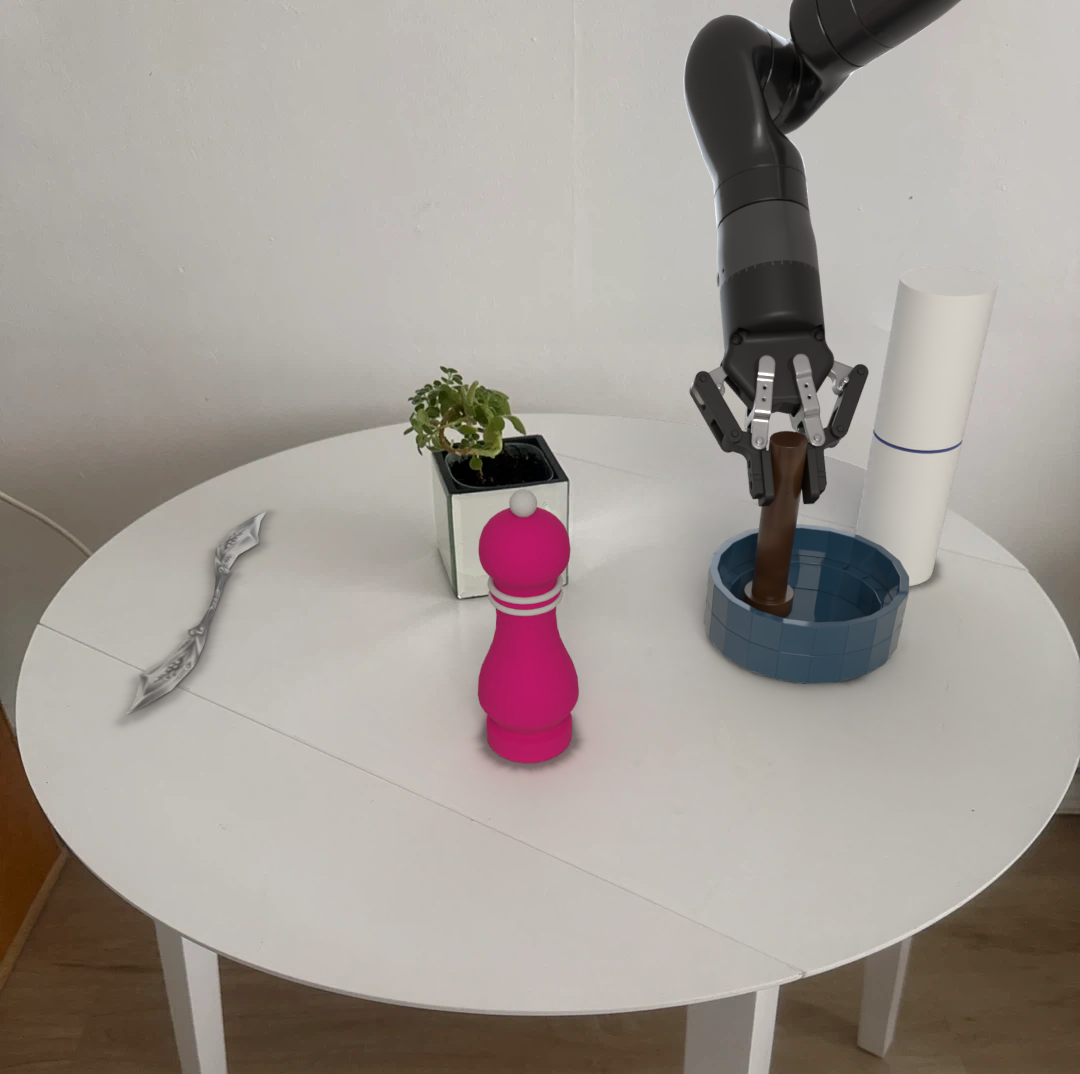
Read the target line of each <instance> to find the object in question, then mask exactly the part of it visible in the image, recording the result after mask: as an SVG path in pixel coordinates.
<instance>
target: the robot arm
mask: <svg viewBox="0 0 1080 1074" xmlns="http://www.w3.org/2000/svg"><path fill="white" fill-rule="evenodd" d="M960 2H962V0H791V2H790V4H789V10H788V29H789V34H790V38H787V39H786V38H785V37H783V36H781V35H780V34H777V33H776V32H773V31H772V30H770V29H768V28H766V27H765V26H763V25H761V24H759V23H758V22H756V21H755V20H752V19H750V18H747V17H745V16H743V15H739V14H733V13H730V14H721V15H718V16H716V17H714V18H712V19H711V20H709V21H708V22H706V23H705V24H704V25H703V26H702V27H701V28H700V29H699V31H698V32H697V33H696V35H695V36H694V38H693V40H692V41H691V44H690V46H689V49H688V52H687V55H686V58H685V62H684V68H683V79H682V80H683V81H682V82H683V85H682V86H683V98H684V102H685V107H686V111H687V115H688V118H689V121H690V125H691V127H692V130H693V133H694V136H695V139H696V142H697V145H698V148H699V151H700V153H701V157H702V160H703V162H704V164H705V166H706V169H707V172H708V173H709V176H710V178H711V181H712V184H713V186H712V187H713V198H714V210H715V211H714V212H715V222H716V223H715V224H716V234H717V235H716V236H717V242H716V270H717V272H716V285H717V288H718V293H719V294H718V295H719V303H720V304H719V306H720V316H721V326H722V338H723V348H724V352H723V357H722V360H721V362H720V364H719V366H718V367H716V368H714V369H712V370H710V371H706V370H699V371H698V372H697V373H696V374H695V377H694V378H693V381H692V383H691V385H690V387H689V392H688V393H689V395H690V397H691V398H692V401H693V402H694V404H695V406H696V407H697V409H698V411H699V413H700V414H701V416H702V418H703V419H704V422H705V423H706V425H707V427H708V429H709V430H710V432H711V434H712V436H713V437H714V439H715V441H716V442H717V444H718V445H719V448H720V449H721V450H722V451H723V452H724V453H727V454H729V453H730V454H731V453H736V454H739V455H741V456H742V457H744V459H745V461H746V469H747V479H748V492H749V495H750V497H751V499H752V500H757V504H758V506H759V507H762V506H770V504H771V503H772V502H773V501H774V497H775V493H774V482H773V471H772V460H771V451H770V450H768V449H767V445H768V444H769V431H770V430H769V429H770V428H769V427H770V419H771V415H772V414H775V413H781V414H785V415H788V416H789V421H790V425H791V428H792V429H793V430H794V432H798V433H801V434H803V435H805V436H806V437H807V438H808V447H807V454H806V461H805V468H804V475H803V482H802V489H801V495H802V496H801V498H802V503H803V505H814V504H815V503H816V502H817V501H818V500H819V499H820V496H821V495H822V494H823V493H824V492H825V491H826V488H827V485H828V481H827V470H826V460H825V450H826V449H833V448H835V447H836V446H838V444H840V441H841V440H842V439H843V438H845V436H847V434H848V432H849V429H850V426H851V424H852V421H853V418H854V415H855V413H856V411H857V410H856V409H857V408H858V404H859V402H860V399H861V396H862V393H863V390H864V388H865V385H866V382H867V379H868V376H869V368H868V367H867V366H866V365H865V364H863V363H858V364H856V365H854V366H853V367H852V366H850V365H847V364H845V363H842V362H840V361H837V360H835V356H834V353H833V351H832V350H831V348H830V347H829V345H828V343H827V340H826V327H825V315H824V306H823V296H822V286H821V275H820V266H819V257H818V256H819V255H818V246H817V240H816V236H815V232H814V228H813V224H812V220H811V219H812V218H811V210H810V200H809V191H808V180H807V179H808V178H807V172H806V166H805V162H804V161H805V160H804V157H803V155H802V153H801V151H800V149H799V148H798V146H797V145H796V144H795V143H794V142H793V141H792V140H791V139H790V138H789V137H788V136H787V135H790V134H792V133H794V132H796V131H797V130H799V129H800V128H801V127H803V126H804V125H805V124H806V123H807V122H808V121H809V120H810V119H811V118H812V117H813V116H814V115H815V114H816V113H817V112H818V111H819V109H820V108H821V107H823V105H824V104H826V102H827V101H828V100H829V99H830V98H831V97H832V96H834V94H836V92H837V91H838V90H839V89H840V88H841V87H842V86H843V85H844V84H845V82H846V81H847V80H848V79H849V78H850V77H851V76H852V75H853V73H855V72H856V71H858V70H860V69H862V68H864V67H866V66H868V65H869V64H871V63H873V62H874V61H876V60H878V59H879V58H881V57H883V56H884V55H885V54H887V53H889V52H890V51H892V50H894V49H895V48H897V47H899V46H900V45H902V44H904V43H906V42H907V41H909V40H910V39H912V38H913V37H914V36H916V35H918V34H919V33H921V32H922V31H924V30H926V29H927V28H928V27H930V26H931V25H932V24H933V23H935V22H937V21H938V20H939V19H940V18H942V17H943V16H944V15H945V14H947V13H948V12H950V11H951V10H953V8H955V7H956V6H957V5H958V4H959V3H960ZM827 377H828V378H829V379H830V380H831V383H832V385H831V391H832V393H833V394H834V395H836V396H837V397H836V400H835V403H834V405H833V409H832V411H831V414H830V417H829V420H828V423H827V426H826V427H823V423H822V419H821V406H820V405H821V404H820V402H819V398H818V394H817V393H818V392H819V390H820V389H821V387H822V386H823V384H824V382H825V381H826V379H827ZM724 383H725V384H726V385H728V387H729V388H730V389H731V391H732V392H733V393H734V394H735V395H736V397H738V399H739V400H740V401H741V402H742V403H743V404H744V406H745V415H744V430H742V428H741V425H740V424H739V423H738V421H737V419H736V417H735V415H734V413H733V412H732V411H731V409H730V407H729V405H728V403H727V402H726V400H725V397H724V395H725V393H726V387H725V384H724Z"/></svg>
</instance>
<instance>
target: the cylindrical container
mask: <svg viewBox="0 0 1080 1074" xmlns="http://www.w3.org/2000/svg"><path fill="white" fill-rule="evenodd" d="M998 286H999V282H998V281H997V279H995V278H994V277H993V276H992V275H990V274H988V273H986V272H983V271H980V270H976V269H972V268H969V267H963V266H954V265H923V266H917V267H913V268H908V269H907V270H905V271H903V272H901V274H900V275H899V281H898V287H897V292H896V298H895V303H894V310H893V314H892V320H891V327H890V330H889V331H890V332H889V337H888V344H887V348H886V355H885V360H884V365H883V372H882V379H881V384H880V389H879V395H878V400H877V407H876V412H875V418H874V423H873V430H872V435H871V440H870V446H869V453H868V458H867V463H866V468H865V474H864V481H863V487H862V493H861V498H860V503H859V510H858V516H857V522H856V525H855V526H856V527H855V532H854V534H856V535H860V536H862V537H864V538H866V539H868V540H870V541H872V542H874V543H877V544H879V545H881V546H882V547H884V548H885V549H886V550H887V551H889V552H890V553H891V554H892V555H894V556H895V557H896V558H897V559H898V560H899V561H900V562H901V563H902V565H903V567H904V569H905V570H906V572H907V574H908V576H909V587H912V586H913V587H914V586H917V585H920V584H922V583H925V582H926V581H928V580H929V579H930V578H931V577H932V576H933V572H934V568H935V564H936V559H937V555H938V550H939V548H940V547H939V546H940V542H941V539H942V533H943V528H944V524H945V520H946V516H947V511H948V506H949V502H950V497H951V493H952V488H953V485H954V480H955V477H956V471H957V468H958V462H959V459H960V454H961V450H962V445H963V441H964V436H965V431H966V427H967V423H968V418H969V414H970V411H971V410H970V409H971V405H972V400H973V396H974V392H975V388H976V383H977V379H978V375H979V371H980V365H981V361H982V357H983V353H984V348H985V343H986V339H987V335H988V331H989V325H990V321H991V317H992V313H993V309H994V304H995V300H996V295H997V291H998Z"/></svg>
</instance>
